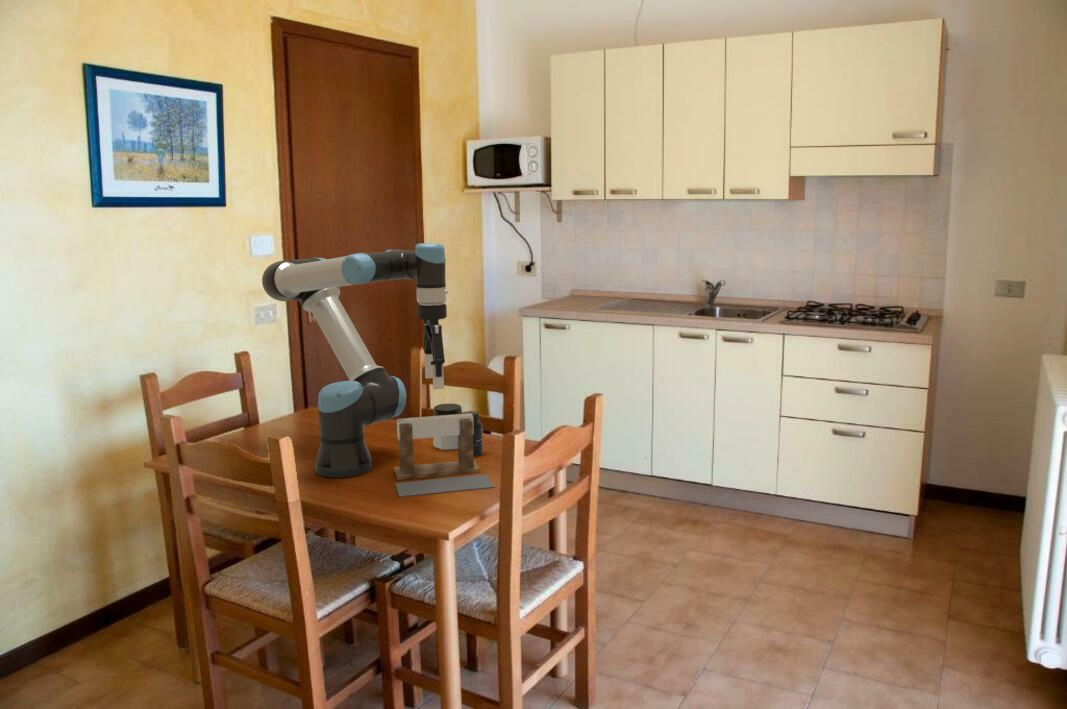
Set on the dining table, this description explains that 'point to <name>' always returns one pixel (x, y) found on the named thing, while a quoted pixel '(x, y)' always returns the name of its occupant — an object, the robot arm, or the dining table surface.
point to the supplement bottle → (477, 433)
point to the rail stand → (436, 469)
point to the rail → (434, 425)
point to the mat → (443, 485)
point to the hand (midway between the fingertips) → (434, 383)
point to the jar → (446, 441)
